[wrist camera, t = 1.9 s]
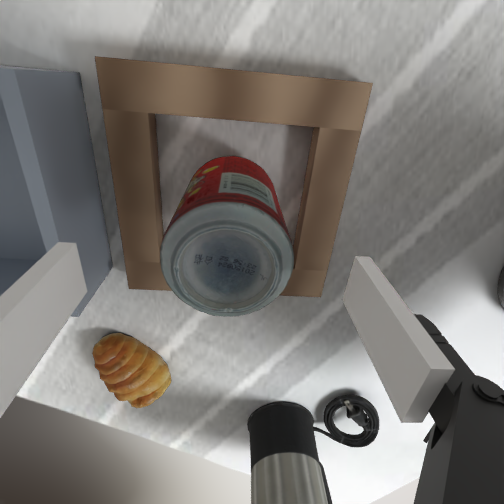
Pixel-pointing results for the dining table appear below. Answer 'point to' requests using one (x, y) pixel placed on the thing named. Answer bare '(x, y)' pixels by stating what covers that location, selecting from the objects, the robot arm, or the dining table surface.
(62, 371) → the dining table surface
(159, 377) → the pastry
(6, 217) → the bin
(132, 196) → the collar block
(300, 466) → the milk frother
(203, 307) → the soda can
